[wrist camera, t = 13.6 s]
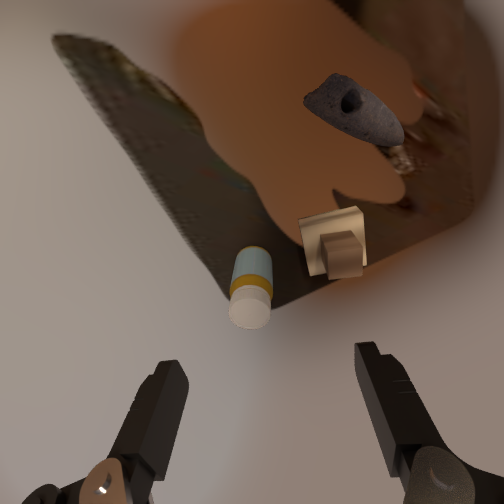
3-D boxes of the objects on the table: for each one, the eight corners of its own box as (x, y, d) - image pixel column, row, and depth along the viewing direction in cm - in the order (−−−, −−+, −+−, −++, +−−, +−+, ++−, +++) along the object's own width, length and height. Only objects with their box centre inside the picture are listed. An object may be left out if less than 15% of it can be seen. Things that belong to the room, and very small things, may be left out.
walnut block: (320, 234, 41) (327, 252, 36) (351, 230, 41) (363, 247, 35) (321, 259, 44) (328, 279, 39) (350, 255, 43) (362, 275, 38)
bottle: (237, 274, 51) (227, 331, 38) (235, 244, 47) (223, 295, 34) (271, 274, 50) (273, 332, 37) (272, 244, 47) (274, 296, 34)
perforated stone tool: (404, 124, 36) (431, 127, 30) (378, 157, 38) (399, 166, 32) (318, 64, 33) (330, 54, 27) (296, 105, 35) (303, 104, 29)
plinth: (297, 218, 44) (300, 228, 41) (355, 205, 43) (363, 213, 39) (307, 264, 49) (310, 276, 46) (359, 253, 47) (366, 264, 44)
